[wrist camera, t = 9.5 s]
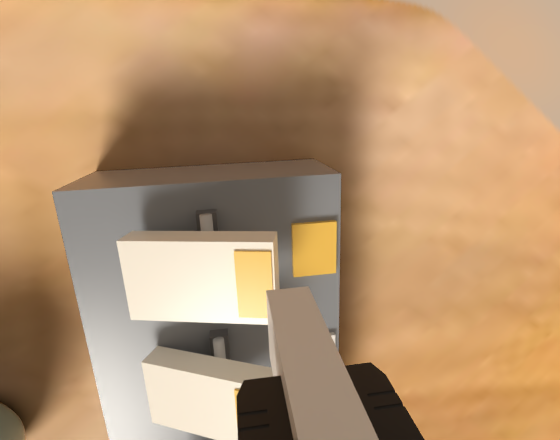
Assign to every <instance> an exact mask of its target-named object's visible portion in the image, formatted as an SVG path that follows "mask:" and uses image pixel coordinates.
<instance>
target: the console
mask: <svg viewBox="0 0 560 440" xmlns="http://www.w3.org/2000/svg"><path fill="white" fill-rule="evenodd" d="M52 194H53V199H54V203H55V207H56V212H57V216H58V220H59V225H60V229H61V233H62V238H63V242H64V246H65V251H66V255H67V259H68V264H69V268H70V272H71V277H72V281H73V285H74V290H75V294H76V298H77V303H78V307H79V311H80V316H81V320H82V324H83V329H84V333H85V337H86V342H87V346H88V350H89V354H90V359H91V363H92V367H93V372H94V376H95V380H96V385H97V389H98V393H99V398H100V402H101V406H102V411H103V415H104V419H105V424H106V428H107V432H108V437H109V440H215V439H211V438H207V437H203V436H200V435H196V434H192V433H189V432H185V431H181V430H178V429H174V428H170V427H167V426H163V425H159V424H155V423H152V419H151V413H150V408H149V402H148V397H147V391H146V386H145V380H144V375H143V369H142V364H141V362H142V361H143V360H144V359H145V358H146V357H147V356H148V355H149V354H150V353H151V352H152V351H153V350H154V349H155V348H156V347H157V346H162V347H167V348H172V349H177V350H182V351H188V352H193V353H198V354H203V355H208V356H214V357H219V358H224V359H229V360H234V361H240V362H245V363H250V364H255V365H260V366H266V367H271V362H270V354H269V336H268V325H260V324H231V323H203V322H175V321H147V320H131V318H130V313H129V308H128V302H127V297H126V291H125V286H124V280H123V275H122V270H121V264H120V259H119V253H118V248H117V242H116V241H117V240H119V239H120V238H122V237H123V236H125V235H126V234H128V233H130V232H131V231H277V240H278V264H279V288H280V289H286V288H296V287H306V286H308V287H309V289H310V291H311V293H312V295H313V297H314V300H315V302H316V304H317V306H318V308H319V311H320V313H321V315H322V317H323V319H324V321H325V324H326V326H327V328H328V330H329V332H330V334H331V337H332V339H333V341H334V343H335V345H336V348H337V350H338V352H339V287H340V218H341V173H339V172H337V171H336V170H334V169H332V168H330V167H328V166H326V165H325V164H323V163H321V162H319V161H317V160H315V159H301V160H283V161H266V162H248V163H231V164H213V165H196V166H178V167H161V168H143V169H126V170H108V171H95V172H93V173H91V174H89V175H87V176H84V177H82V178H80V179H78V180H76V181H74V182H72V183H70V184H67V185H65V186H63V187H61V188H59V189H57V190H55V191H53V192H52ZM271 368H272V367H271Z"/></svg>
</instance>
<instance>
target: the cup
mask: <svg viewBox="0 0 560 440" xmlns="http://www.w3.org/2000/svg"><path fill="white" fill-rule="evenodd" d="M0 440H26V433H25V428H24V425H23V422H22V421H21V419H20V418H19V416H18V415H17V414H16V413H15V412H14V411H13V410H12V409H10V408H9V407H7V406H6V405H4V404H2V403H0Z"/></svg>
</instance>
